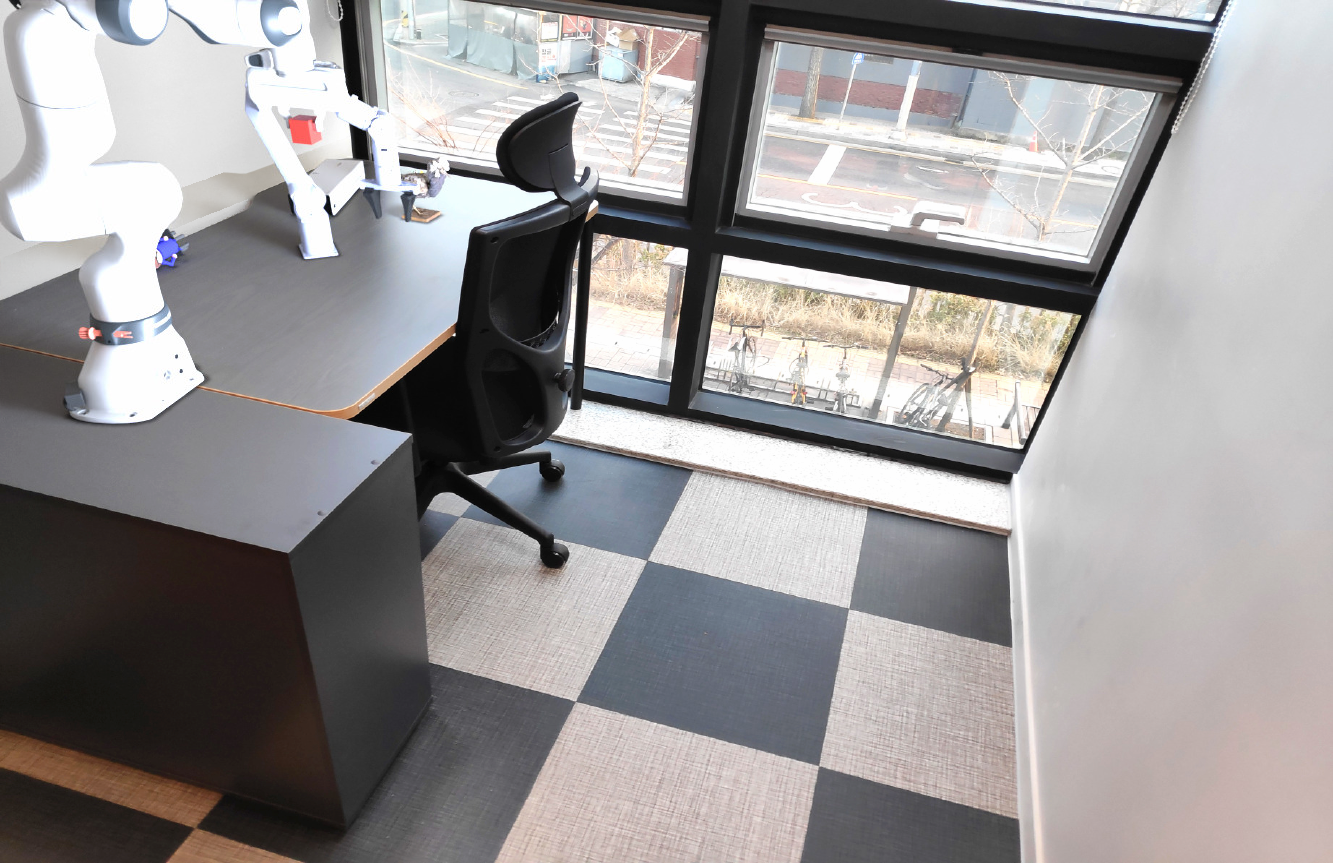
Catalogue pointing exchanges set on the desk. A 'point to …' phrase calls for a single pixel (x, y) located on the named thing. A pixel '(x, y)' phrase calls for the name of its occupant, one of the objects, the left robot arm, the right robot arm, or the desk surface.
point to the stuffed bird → (428, 187)
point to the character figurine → (168, 248)
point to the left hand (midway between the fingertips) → (305, 129)
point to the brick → (304, 130)
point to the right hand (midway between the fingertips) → (393, 219)
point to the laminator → (336, 182)
